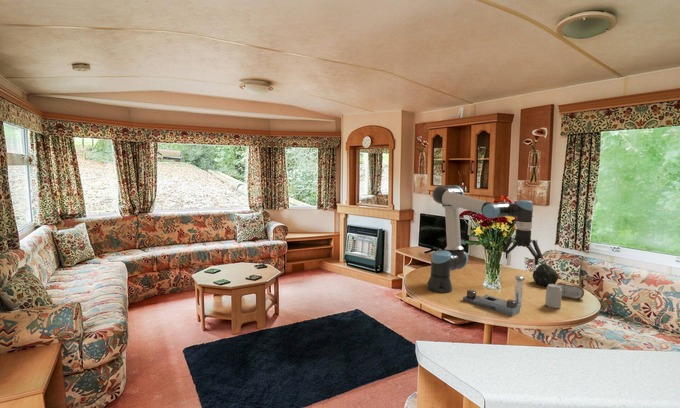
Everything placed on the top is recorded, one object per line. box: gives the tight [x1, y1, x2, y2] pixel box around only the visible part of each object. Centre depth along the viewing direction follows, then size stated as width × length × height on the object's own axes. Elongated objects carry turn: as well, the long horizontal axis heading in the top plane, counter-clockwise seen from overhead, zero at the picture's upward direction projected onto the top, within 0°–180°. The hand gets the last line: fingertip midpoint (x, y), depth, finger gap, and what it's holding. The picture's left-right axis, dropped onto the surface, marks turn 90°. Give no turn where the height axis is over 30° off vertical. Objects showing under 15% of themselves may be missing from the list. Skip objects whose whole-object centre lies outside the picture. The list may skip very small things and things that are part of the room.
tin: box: [556, 281, 585, 300], centre depth 220 cm, size 15×3×8 cm, turn 59°
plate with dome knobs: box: [462, 289, 521, 317], centre depth 203 cm, size 28×9×6 cm, turn 41°
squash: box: [532, 263, 559, 287], centre depth 243 cm, size 14×15×15 cm
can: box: [544, 283, 562, 309], centre depth 205 cm, size 8×8×12 cm
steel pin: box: [514, 275, 525, 309], centre depth 202 cm, size 5×5×17 cm
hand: (520, 267), depth 201 cm, fingers open, 13 cm apart
